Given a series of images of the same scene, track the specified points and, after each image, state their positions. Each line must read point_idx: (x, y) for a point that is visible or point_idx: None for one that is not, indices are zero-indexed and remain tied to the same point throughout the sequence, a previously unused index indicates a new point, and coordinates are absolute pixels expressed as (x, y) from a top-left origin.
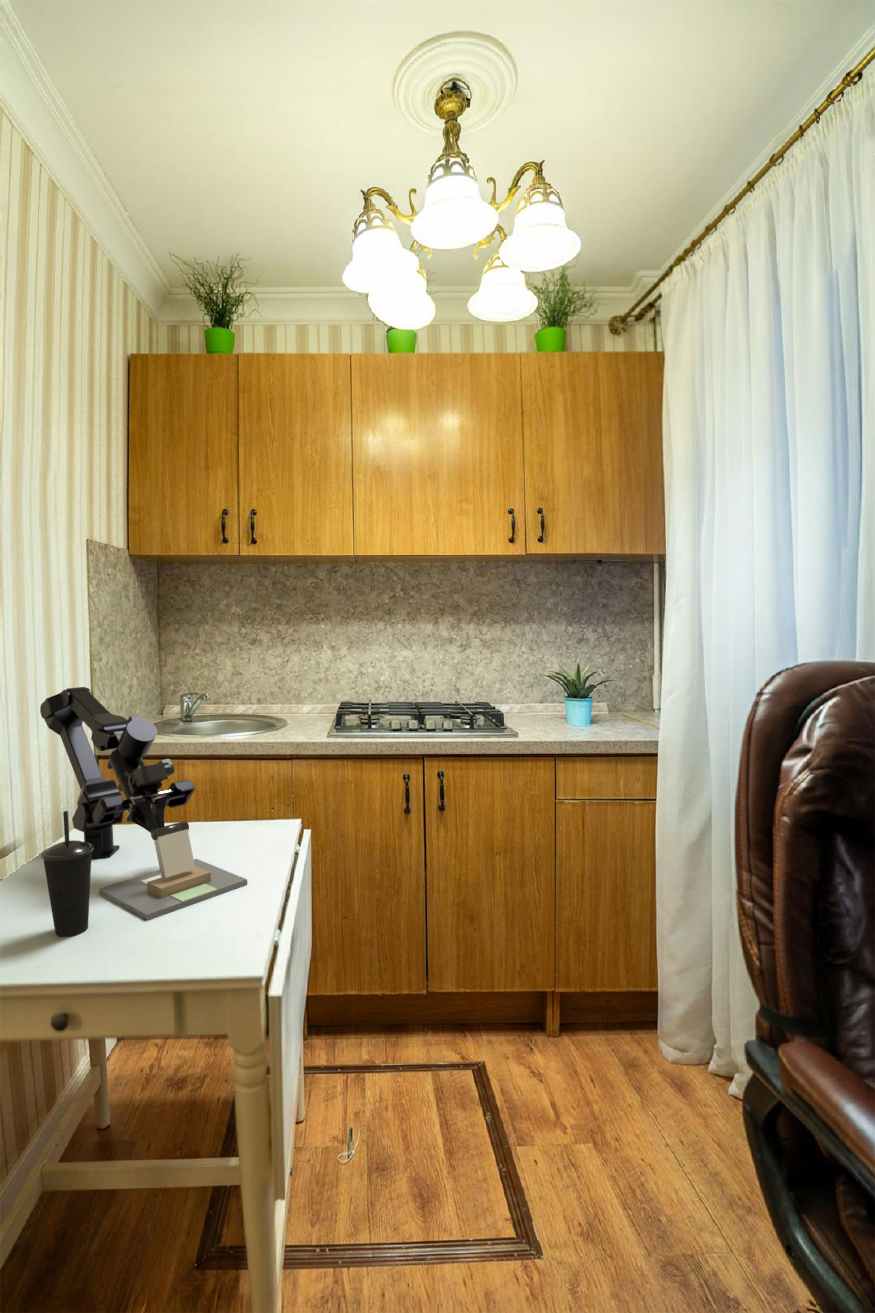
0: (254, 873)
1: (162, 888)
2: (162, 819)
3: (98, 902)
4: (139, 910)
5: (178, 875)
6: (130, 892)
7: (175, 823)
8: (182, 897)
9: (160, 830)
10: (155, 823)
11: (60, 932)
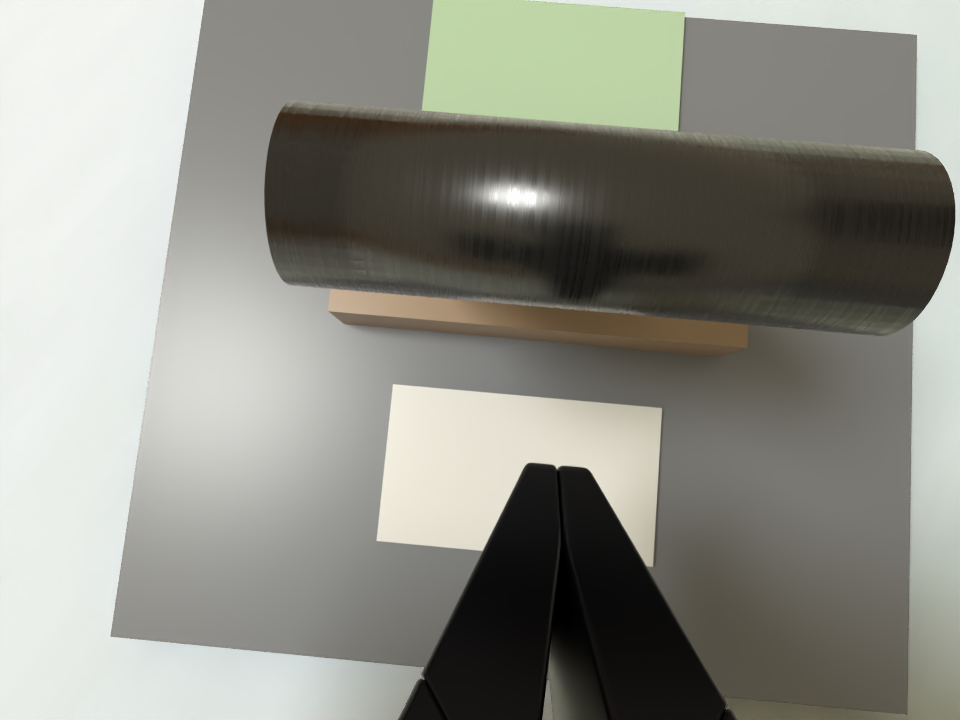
0: (60, 115)
1: None
2: (466, 666)
3: (953, 559)
4: (914, 126)
5: None
6: (803, 440)
7: (468, 210)
8: (648, 60)
9: (834, 146)
10: (636, 644)
11: None
